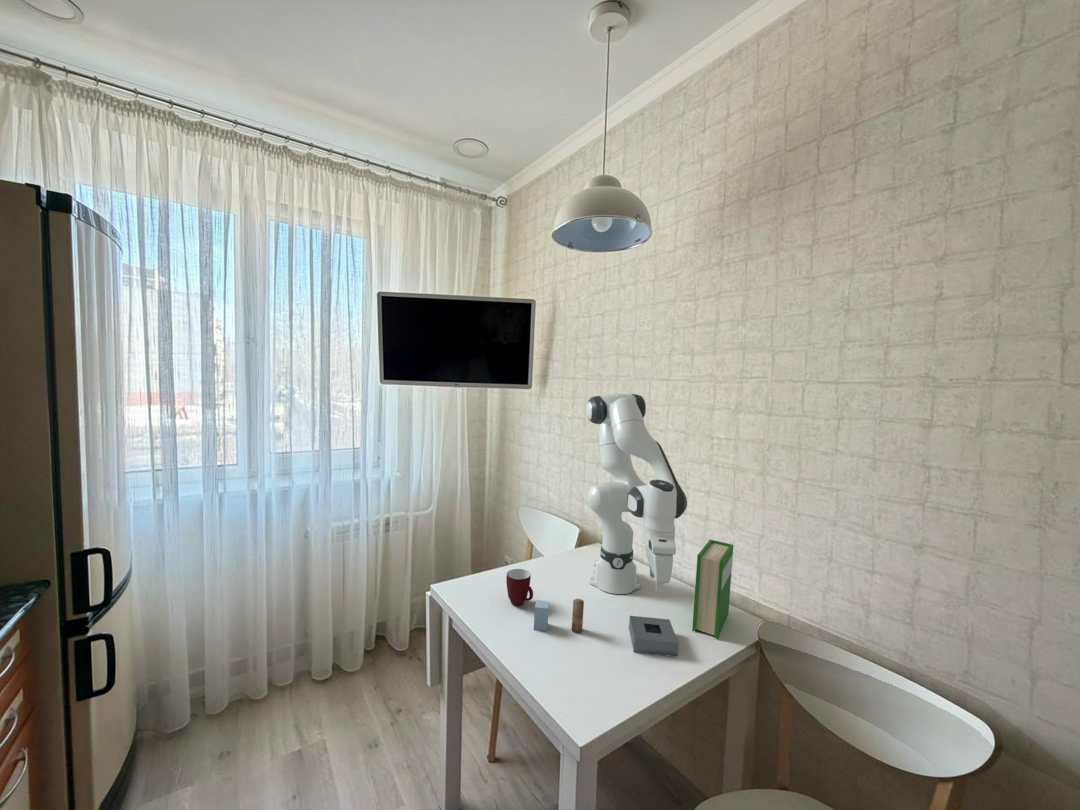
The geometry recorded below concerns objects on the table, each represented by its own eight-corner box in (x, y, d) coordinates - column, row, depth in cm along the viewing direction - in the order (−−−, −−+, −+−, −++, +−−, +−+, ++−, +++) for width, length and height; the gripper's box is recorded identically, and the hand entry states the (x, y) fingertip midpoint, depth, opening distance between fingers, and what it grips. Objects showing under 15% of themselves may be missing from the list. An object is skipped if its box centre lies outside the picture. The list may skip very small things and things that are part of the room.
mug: (540, 604, 144) (541, 575, 143) (526, 614, 137) (527, 584, 137) (514, 594, 150) (516, 566, 149) (500, 603, 143) (501, 574, 142)
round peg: (571, 626, 131) (573, 598, 131) (582, 627, 131) (583, 599, 131) (571, 632, 128) (573, 603, 128) (582, 633, 128) (583, 604, 128)
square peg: (534, 622, 133) (536, 600, 133) (547, 623, 132) (549, 601, 132) (533, 629, 129) (534, 607, 129) (546, 631, 129) (548, 608, 128)
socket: (628, 628, 132) (629, 615, 132) (668, 632, 131) (669, 619, 131) (633, 652, 120) (634, 638, 120) (677, 656, 119) (678, 642, 119)
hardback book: (717, 640, 128) (723, 561, 127) (692, 631, 133) (697, 555, 131) (728, 615, 143) (733, 544, 142) (705, 607, 147) (710, 539, 146)
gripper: (642, 525, 135) (639, 568, 136) (653, 549, 115) (650, 599, 115) (662, 526, 134) (660, 569, 135) (677, 551, 114) (674, 602, 115)
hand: (655, 584), depth 125 cm, fingers open, 8 cm apart
